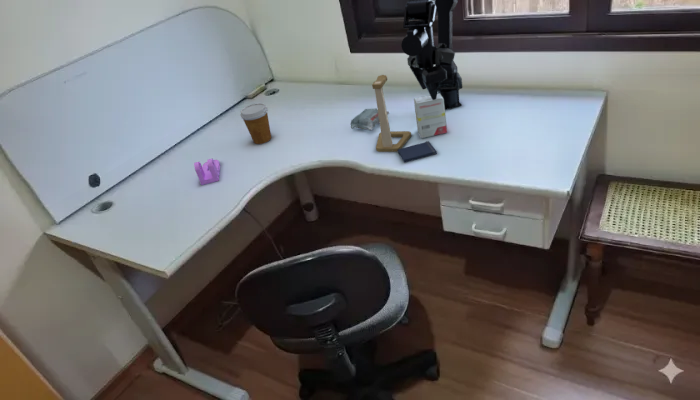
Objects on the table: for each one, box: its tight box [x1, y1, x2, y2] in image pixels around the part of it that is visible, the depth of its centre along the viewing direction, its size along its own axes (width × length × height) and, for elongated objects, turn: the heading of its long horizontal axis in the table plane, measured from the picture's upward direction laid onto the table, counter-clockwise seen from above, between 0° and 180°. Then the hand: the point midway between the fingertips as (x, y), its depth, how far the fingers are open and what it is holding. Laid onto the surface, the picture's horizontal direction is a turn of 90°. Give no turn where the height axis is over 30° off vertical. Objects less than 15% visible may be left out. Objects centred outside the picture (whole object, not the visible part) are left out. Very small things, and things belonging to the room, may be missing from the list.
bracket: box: [193, 158, 221, 186], centre depth 166 cm, size 13×6×7 cm, turn 9°
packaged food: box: [350, 107, 390, 131], centre depth 174 cm, size 9×12×5 cm
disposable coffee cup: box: [239, 102, 272, 145], centre depth 179 cm, size 10×10×12 cm
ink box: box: [413, 93, 448, 139], centre depth 160 cm, size 9×5×12 cm, turn 95°
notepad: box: [397, 140, 438, 163], centre depth 154 cm, size 10×7×1 cm
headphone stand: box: [371, 74, 412, 153], centre depth 156 cm, size 10×11×22 cm
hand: (429, 94), depth 156 cm, fingers open, 9 cm apart
